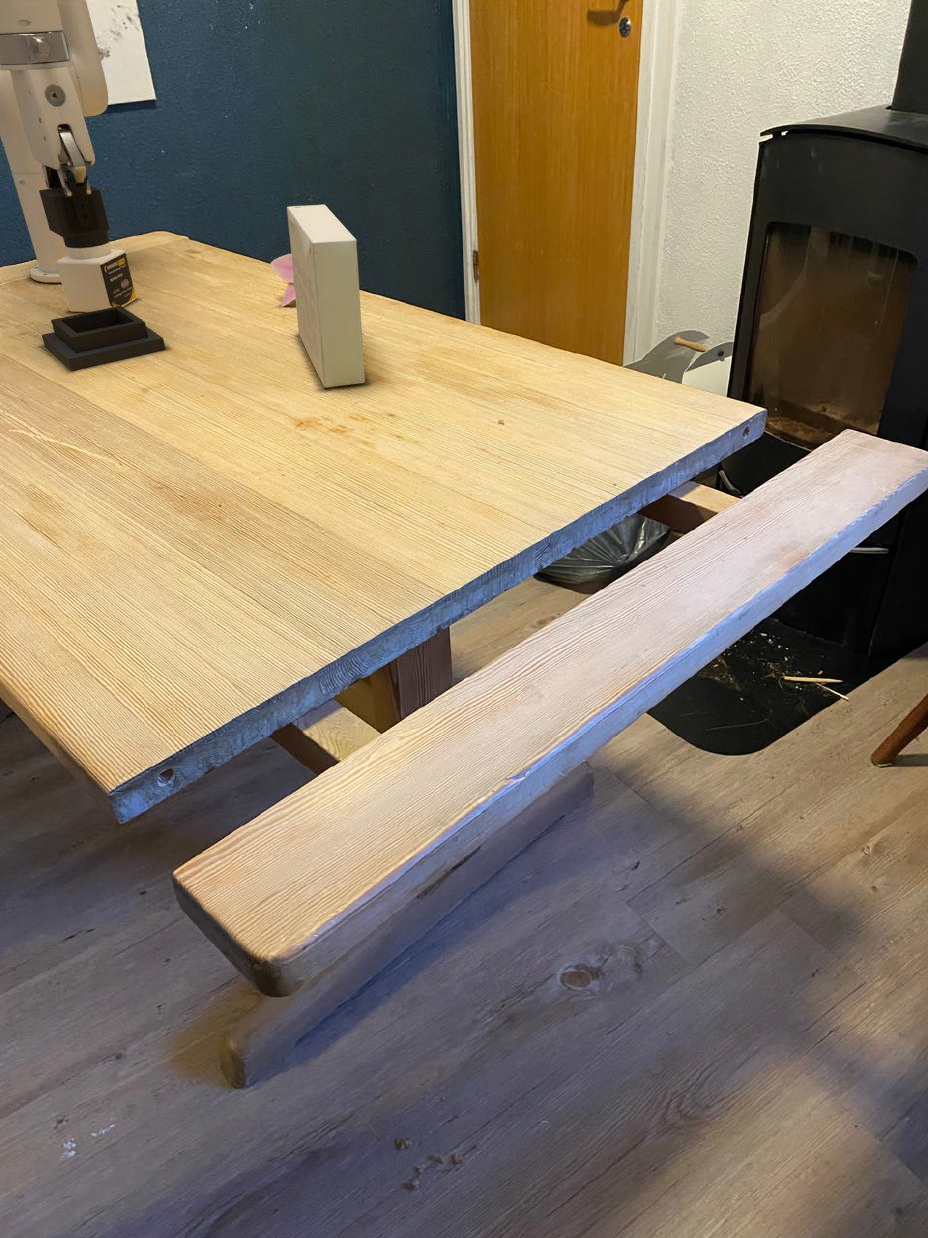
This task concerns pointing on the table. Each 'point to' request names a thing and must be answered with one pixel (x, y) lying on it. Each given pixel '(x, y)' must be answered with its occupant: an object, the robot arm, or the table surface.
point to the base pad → (100, 338)
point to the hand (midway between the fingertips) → (77, 225)
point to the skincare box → (327, 294)
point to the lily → (285, 276)
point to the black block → (58, 213)
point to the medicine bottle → (94, 274)
